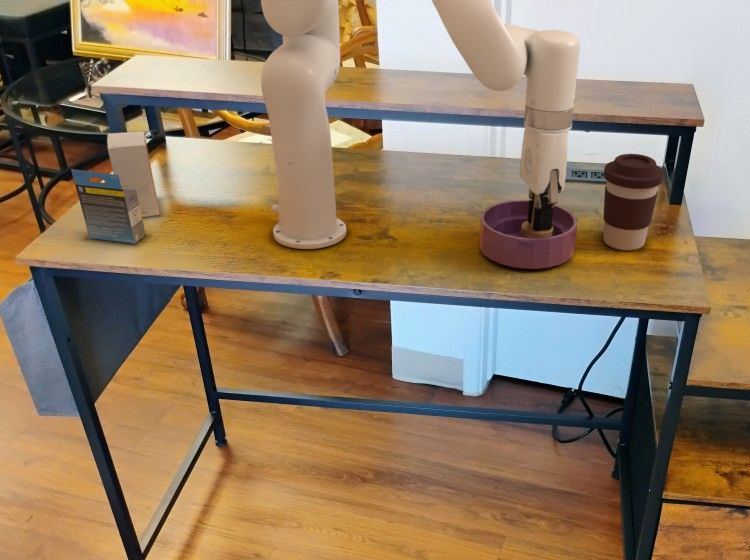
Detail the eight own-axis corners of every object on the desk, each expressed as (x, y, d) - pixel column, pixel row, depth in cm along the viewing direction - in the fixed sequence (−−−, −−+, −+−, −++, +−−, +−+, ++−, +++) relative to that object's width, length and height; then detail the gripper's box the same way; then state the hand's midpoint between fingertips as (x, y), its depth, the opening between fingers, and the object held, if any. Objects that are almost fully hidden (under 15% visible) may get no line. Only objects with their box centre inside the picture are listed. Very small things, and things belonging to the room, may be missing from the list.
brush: (513, 241, 142) (520, 179, 136) (533, 233, 145) (541, 172, 139) (537, 252, 139) (545, 189, 133) (557, 244, 143) (566, 182, 136)
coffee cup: (614, 226, 153) (625, 145, 145) (662, 242, 148) (676, 159, 140) (584, 243, 147) (594, 160, 138) (633, 260, 142) (646, 175, 133)
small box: (160, 215, 151) (146, 144, 143) (122, 219, 149) (106, 148, 141) (158, 199, 157) (144, 130, 149) (122, 202, 155) (106, 133, 147)
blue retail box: (147, 235, 144) (132, 166, 137) (135, 245, 141) (119, 175, 133) (100, 229, 145) (83, 160, 138) (87, 238, 142) (69, 168, 135)
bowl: (460, 251, 143) (460, 218, 139) (519, 223, 153) (522, 192, 149) (534, 282, 134) (536, 248, 131) (592, 251, 144) (596, 219, 141)
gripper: (511, 102, 136) (504, 208, 146) (541, 134, 123) (532, 248, 133) (554, 100, 137) (545, 205, 148) (589, 132, 125) (576, 244, 135)
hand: (539, 225), depth 141 cm, fingers closed on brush
